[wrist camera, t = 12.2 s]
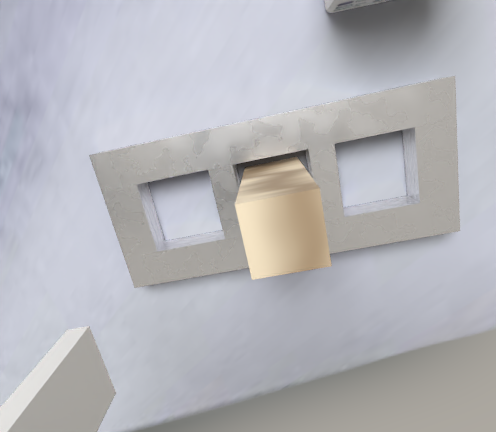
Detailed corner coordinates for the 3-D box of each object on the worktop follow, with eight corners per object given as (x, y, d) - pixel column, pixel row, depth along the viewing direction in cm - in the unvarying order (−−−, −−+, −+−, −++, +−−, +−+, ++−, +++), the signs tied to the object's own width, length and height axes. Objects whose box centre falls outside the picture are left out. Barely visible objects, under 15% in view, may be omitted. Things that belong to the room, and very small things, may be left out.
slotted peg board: (143, 274, 33) (133, 288, 30) (103, 151, 30) (88, 155, 27) (444, 221, 30) (461, 231, 28) (437, 78, 27) (456, 75, 24)
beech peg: (255, 216, 31) (252, 279, 19) (245, 167, 30) (234, 204, 18) (305, 206, 30) (331, 266, 19) (296, 156, 29) (319, 188, 18)
